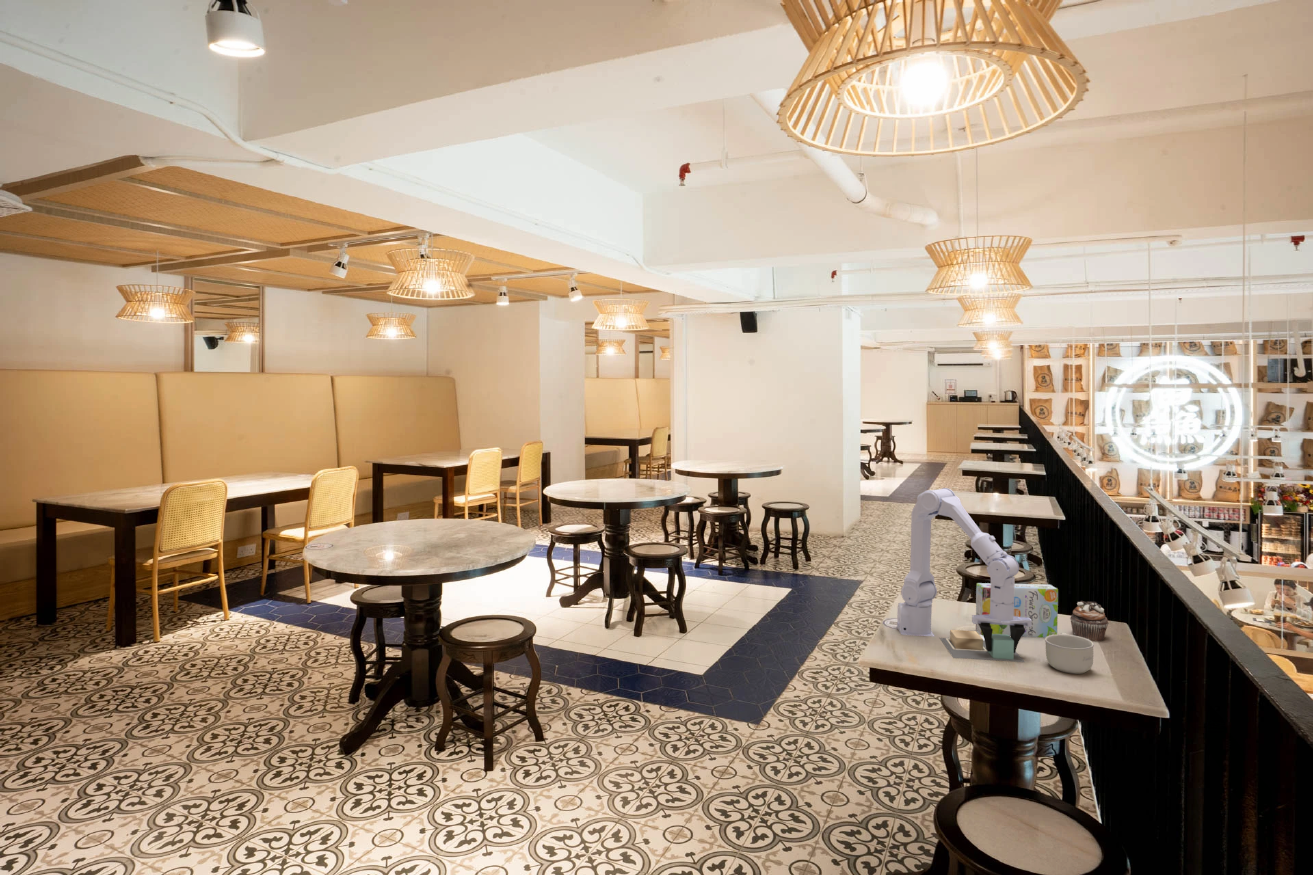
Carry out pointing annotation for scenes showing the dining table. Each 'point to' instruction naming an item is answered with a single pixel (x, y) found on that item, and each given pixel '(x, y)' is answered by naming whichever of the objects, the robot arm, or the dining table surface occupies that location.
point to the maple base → (966, 639)
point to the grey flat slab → (974, 652)
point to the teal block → (1002, 646)
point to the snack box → (1024, 608)
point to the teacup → (1069, 653)
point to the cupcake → (1089, 621)
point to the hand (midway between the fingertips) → (1000, 650)
